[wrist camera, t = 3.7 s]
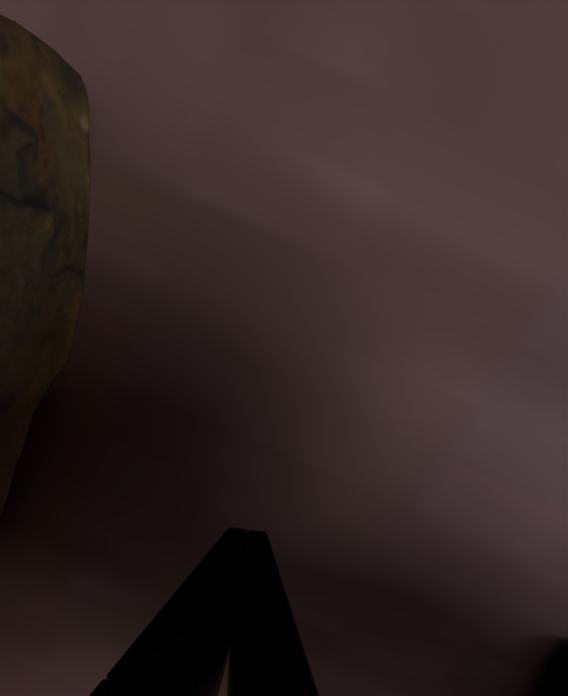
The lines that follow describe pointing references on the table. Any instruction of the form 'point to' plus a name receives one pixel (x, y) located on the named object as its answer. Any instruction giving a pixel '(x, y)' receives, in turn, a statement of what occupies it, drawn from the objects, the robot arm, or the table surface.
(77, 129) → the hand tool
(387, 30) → the table surface
